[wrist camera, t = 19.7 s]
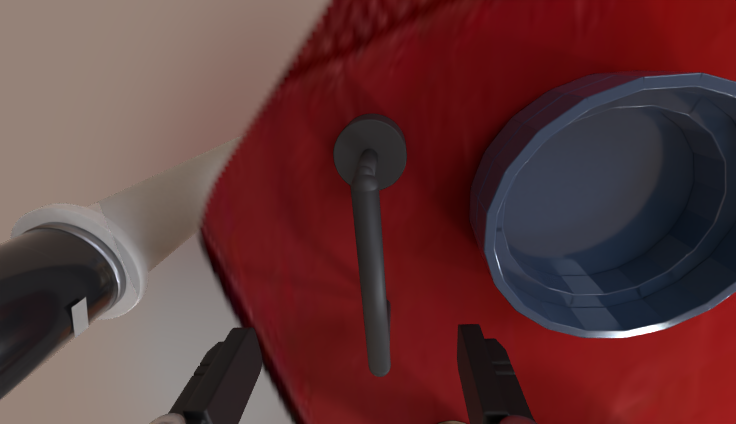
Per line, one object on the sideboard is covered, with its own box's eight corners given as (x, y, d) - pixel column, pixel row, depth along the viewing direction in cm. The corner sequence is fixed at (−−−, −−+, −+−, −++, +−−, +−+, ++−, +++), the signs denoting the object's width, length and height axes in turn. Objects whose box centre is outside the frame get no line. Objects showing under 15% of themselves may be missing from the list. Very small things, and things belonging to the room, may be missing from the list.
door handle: (335, 115, 22) (310, 137, 15) (404, 111, 21) (407, 131, 15) (357, 308, 28) (345, 381, 21) (411, 307, 27) (415, 382, 21)
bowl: (463, 290, 26) (477, 338, 22) (473, 81, 20) (495, 87, 16) (676, 287, 25) (739, 338, 20) (754, 60, 19) (870, 60, 14)
